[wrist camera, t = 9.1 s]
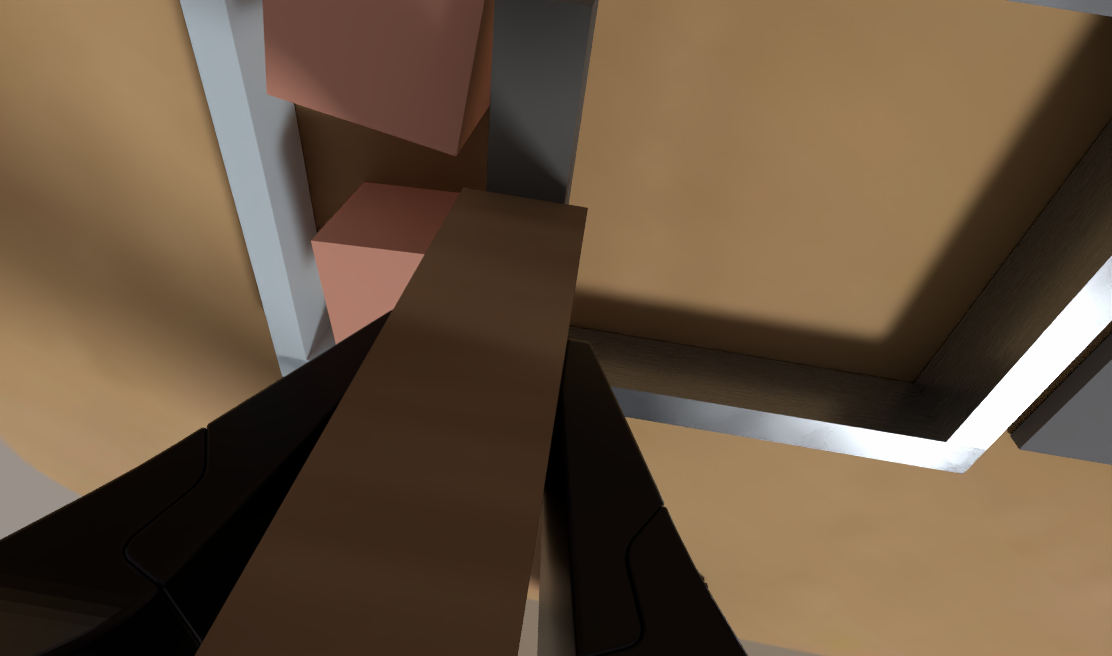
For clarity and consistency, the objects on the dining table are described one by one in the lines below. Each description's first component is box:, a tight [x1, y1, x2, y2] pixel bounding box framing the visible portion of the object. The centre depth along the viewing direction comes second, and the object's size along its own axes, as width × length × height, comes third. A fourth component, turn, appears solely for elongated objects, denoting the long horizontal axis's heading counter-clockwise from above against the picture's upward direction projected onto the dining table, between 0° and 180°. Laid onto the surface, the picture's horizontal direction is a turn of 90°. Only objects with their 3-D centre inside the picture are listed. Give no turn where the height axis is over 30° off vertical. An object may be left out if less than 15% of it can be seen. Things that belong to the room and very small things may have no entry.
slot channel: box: [567, 0, 1112, 474], centre depth 14 cm, size 13×13×2 cm
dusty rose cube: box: [262, 0, 495, 156], centre depth 12 cm, size 4×4×4 cm
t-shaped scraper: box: [195, 0, 598, 656], centre depth 9 cm, size 9×2×11 cm, turn 173°
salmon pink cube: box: [311, 182, 459, 344], centre depth 16 cm, size 4×4×4 cm
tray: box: [180, 0, 336, 377], centre depth 14 cm, size 16×8×2 cm, turn 173°
